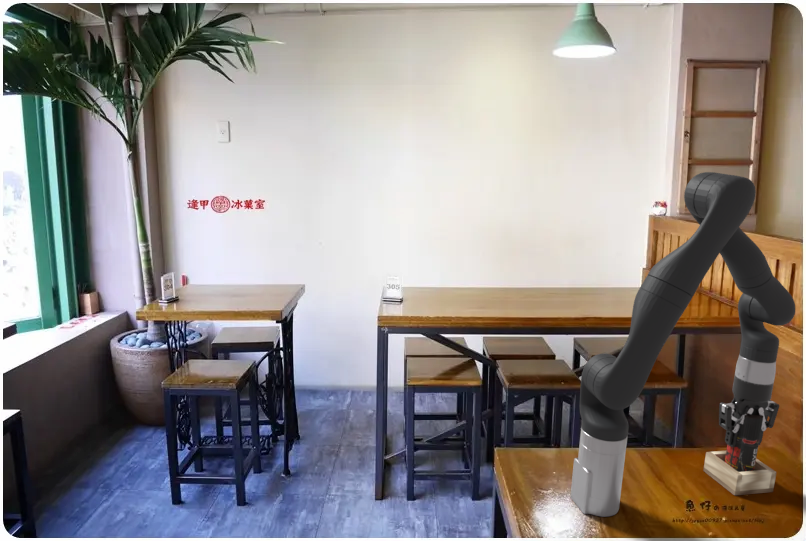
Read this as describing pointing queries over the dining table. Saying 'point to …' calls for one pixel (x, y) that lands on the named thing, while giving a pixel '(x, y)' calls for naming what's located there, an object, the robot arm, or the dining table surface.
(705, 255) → the robot arm
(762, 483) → the white wooden box
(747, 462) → the deodorant
